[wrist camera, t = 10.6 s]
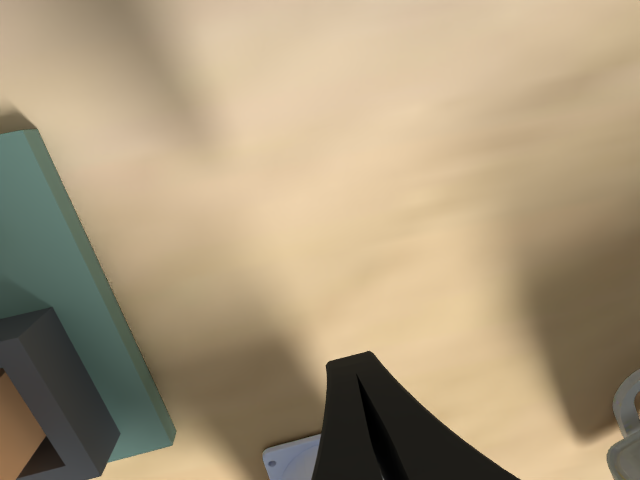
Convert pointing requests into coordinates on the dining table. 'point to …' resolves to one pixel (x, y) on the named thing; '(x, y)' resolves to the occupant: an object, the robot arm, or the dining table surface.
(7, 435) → the plug
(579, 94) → the dining table surface
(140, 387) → the header board
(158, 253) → the dining table surface
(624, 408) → the network device
